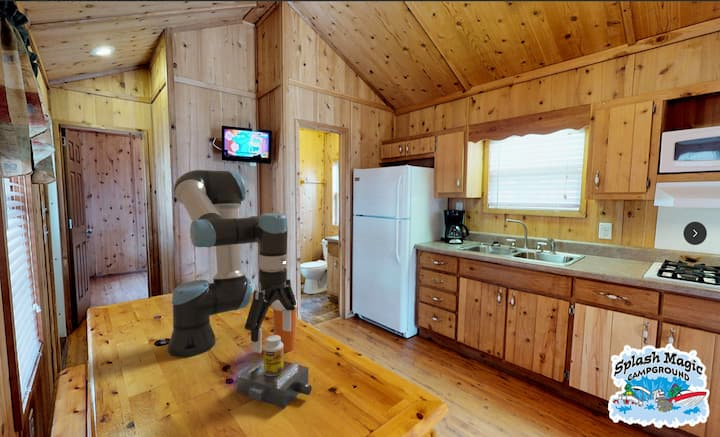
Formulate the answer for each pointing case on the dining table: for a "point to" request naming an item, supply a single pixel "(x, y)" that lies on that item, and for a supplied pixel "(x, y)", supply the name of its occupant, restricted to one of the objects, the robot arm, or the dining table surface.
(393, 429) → the dining table surface
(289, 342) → the shaker bottle
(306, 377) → the motor block
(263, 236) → the robot arm
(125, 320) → the dining table surface
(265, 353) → the supplement bottle
